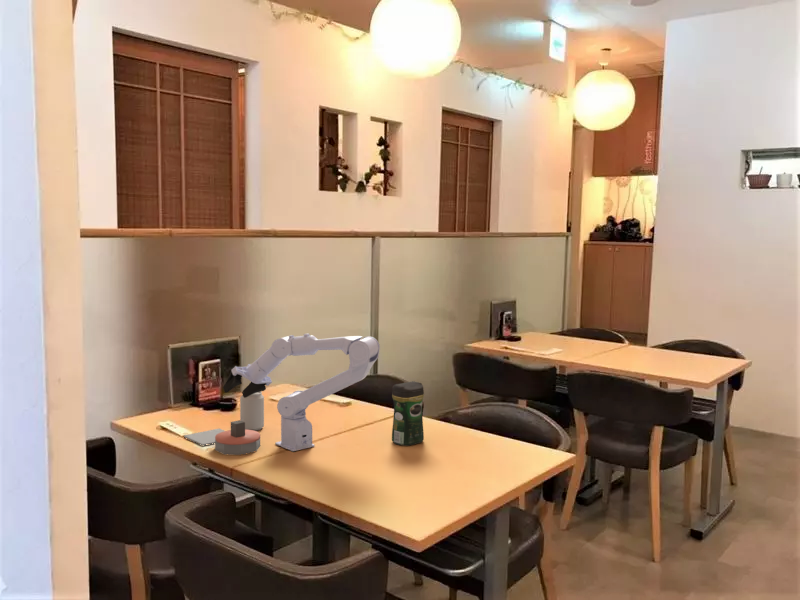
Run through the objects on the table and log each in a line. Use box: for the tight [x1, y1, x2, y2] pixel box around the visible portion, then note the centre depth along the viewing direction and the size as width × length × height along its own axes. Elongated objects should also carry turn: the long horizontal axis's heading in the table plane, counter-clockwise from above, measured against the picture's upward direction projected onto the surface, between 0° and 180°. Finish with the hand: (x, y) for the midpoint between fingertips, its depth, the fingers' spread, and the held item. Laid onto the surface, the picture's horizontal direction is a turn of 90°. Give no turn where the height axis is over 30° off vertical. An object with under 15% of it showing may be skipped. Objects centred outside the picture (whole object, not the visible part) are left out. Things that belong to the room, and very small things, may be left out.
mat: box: [183, 427, 225, 446], centre depth 213 cm, size 12×12×1 cm
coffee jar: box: [391, 380, 425, 447], centre depth 212 cm, size 10×8×19 cm
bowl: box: [214, 438, 261, 456], centre depth 204 cm, size 12×12×3 cm
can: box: [239, 391, 265, 432], centre depth 224 cm, size 8×8×12 cm
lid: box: [215, 420, 261, 445], centre depth 203 cm, size 13×13×5 cm
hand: (234, 392), depth 212 cm, fingers open, 7 cm apart
